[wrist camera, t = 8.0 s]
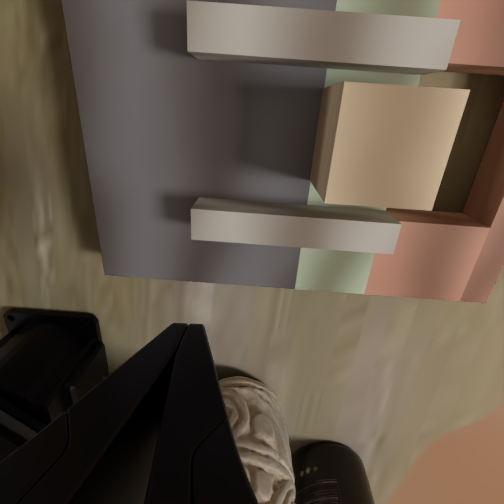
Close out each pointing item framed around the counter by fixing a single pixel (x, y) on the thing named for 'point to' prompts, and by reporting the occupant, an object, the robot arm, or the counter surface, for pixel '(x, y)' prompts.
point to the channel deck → (272, 142)
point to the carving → (260, 438)
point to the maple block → (384, 143)
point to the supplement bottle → (330, 476)
